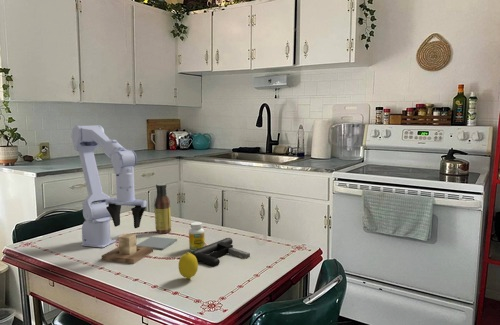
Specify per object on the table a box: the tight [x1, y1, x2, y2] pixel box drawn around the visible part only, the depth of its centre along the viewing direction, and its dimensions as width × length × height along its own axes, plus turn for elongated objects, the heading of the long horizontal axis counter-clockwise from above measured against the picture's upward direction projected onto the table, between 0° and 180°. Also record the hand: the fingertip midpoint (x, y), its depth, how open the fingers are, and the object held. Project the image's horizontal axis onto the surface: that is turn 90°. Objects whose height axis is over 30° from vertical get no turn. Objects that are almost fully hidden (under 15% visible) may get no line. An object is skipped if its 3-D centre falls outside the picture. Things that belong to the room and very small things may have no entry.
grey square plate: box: [136, 236, 178, 251], centre depth 147 cm, size 11×11×1 cm
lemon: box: [178, 252, 199, 280], centre depth 115 cm, size 6×6×8 cm
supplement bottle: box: [188, 221, 206, 252], centre depth 140 cm, size 5×5×10 cm
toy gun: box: [190, 237, 251, 267], centre depth 135 cm, size 3×20×16 cm
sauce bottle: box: [154, 182, 172, 235], centre depth 161 cm, size 6×6×20 cm
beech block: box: [118, 233, 137, 255], centre depth 135 cm, size 4×4×7 cm
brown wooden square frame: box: [101, 246, 154, 265], centre depth 135 cm, size 12×12×2 cm
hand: (127, 226), depth 134 cm, fingers open, 7 cm apart
